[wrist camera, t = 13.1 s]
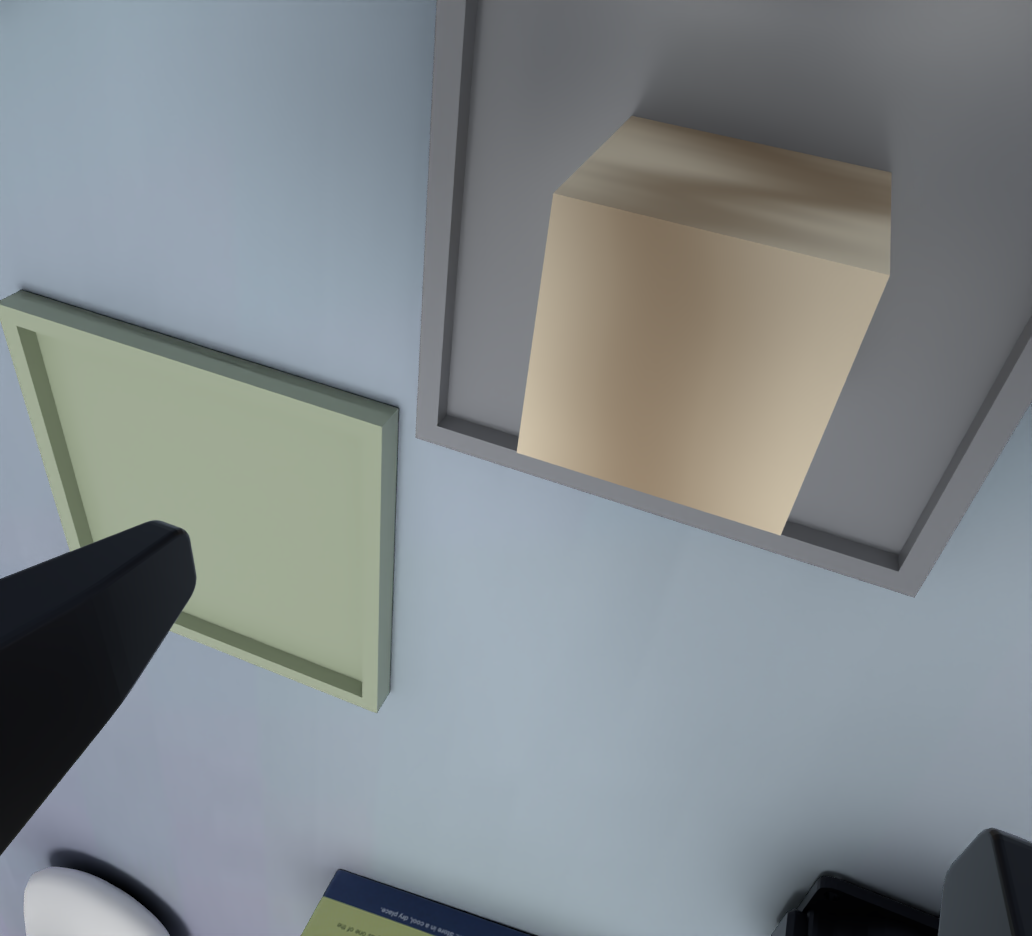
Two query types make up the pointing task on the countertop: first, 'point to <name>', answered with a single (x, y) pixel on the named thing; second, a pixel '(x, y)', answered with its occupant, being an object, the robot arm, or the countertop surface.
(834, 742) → the countertop surface
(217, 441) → the olive tray
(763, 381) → the birch block
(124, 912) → the flower in vase
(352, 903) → the protein box
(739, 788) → the countertop surface
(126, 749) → the countertop surface
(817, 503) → the charcoal tray
